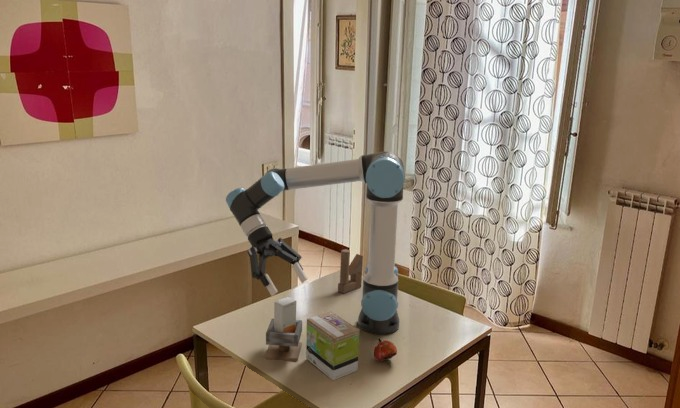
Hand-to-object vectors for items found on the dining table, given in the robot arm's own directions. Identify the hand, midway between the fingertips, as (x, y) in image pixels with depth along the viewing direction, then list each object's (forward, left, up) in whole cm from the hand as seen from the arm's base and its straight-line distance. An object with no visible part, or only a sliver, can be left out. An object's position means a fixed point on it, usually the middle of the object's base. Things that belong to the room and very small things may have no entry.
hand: (290, 287), depth 174 cm
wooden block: (-17, -54, -24) cm, 62 cm away
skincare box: (+2, -2, -18) cm, 18 cm away
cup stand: (+2, -1, -23) cm, 24 cm away
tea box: (-14, +5, -24) cm, 28 cm away
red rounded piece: (-31, +1, -24) cm, 39 cm away
